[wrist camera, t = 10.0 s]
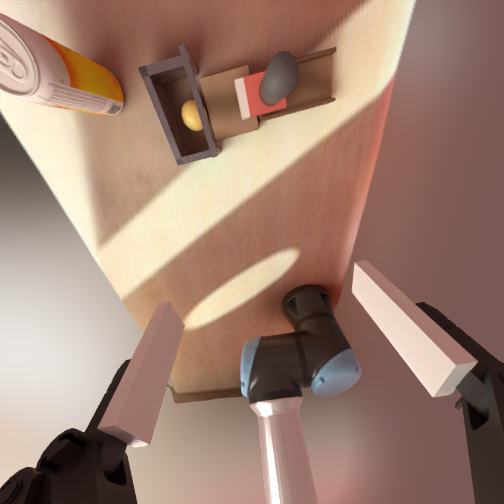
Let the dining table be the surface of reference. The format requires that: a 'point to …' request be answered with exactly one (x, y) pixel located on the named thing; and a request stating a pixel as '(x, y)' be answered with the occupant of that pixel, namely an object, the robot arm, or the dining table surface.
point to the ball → (191, 115)
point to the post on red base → (267, 87)
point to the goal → (154, 81)
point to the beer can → (53, 73)
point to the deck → (226, 103)
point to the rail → (307, 84)
